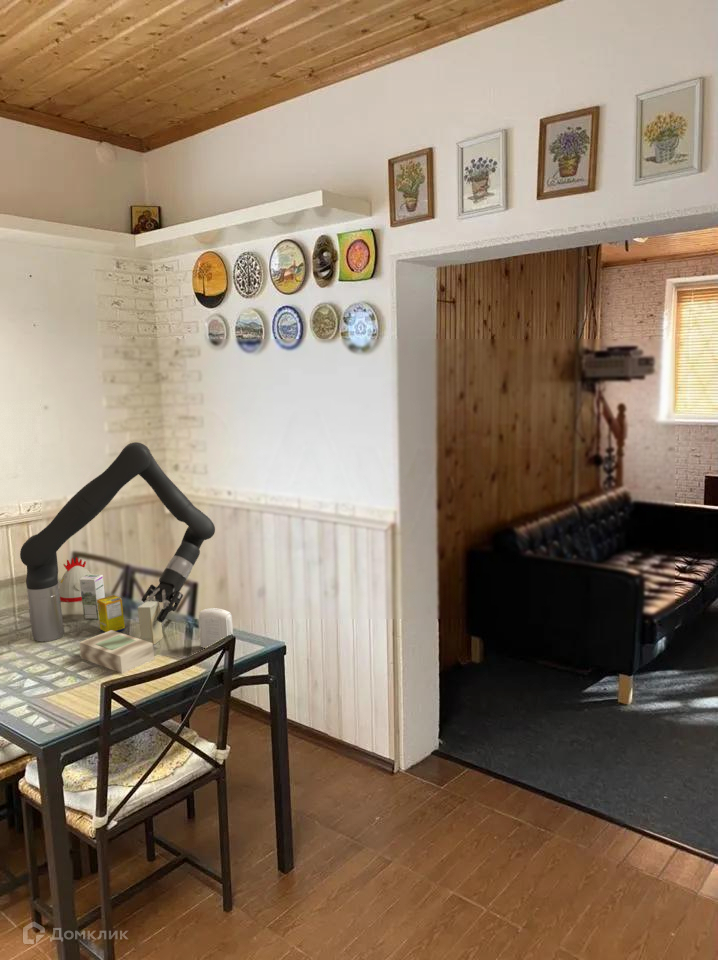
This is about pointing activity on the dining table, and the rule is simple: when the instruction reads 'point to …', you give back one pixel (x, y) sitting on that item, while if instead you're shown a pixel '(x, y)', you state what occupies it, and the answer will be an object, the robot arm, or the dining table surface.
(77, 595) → the kitchen timer
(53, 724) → the dining table surface
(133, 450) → the robot arm
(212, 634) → the photo printer
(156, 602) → the skincare box
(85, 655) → the step block
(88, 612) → the syrup box
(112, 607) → the supplement box
